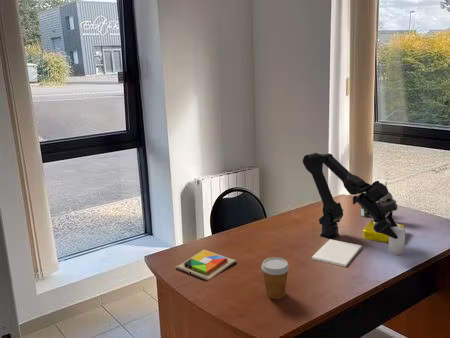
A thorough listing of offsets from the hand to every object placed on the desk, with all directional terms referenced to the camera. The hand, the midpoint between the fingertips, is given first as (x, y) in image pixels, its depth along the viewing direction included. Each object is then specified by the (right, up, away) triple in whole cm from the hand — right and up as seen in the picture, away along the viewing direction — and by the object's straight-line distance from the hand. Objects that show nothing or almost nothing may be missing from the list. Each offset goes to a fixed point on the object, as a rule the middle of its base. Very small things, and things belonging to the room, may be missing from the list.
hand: (397, 233), depth 181 cm
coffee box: (+2, +3, +43) cm, 43 cm away
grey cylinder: (0, -8, +2) cm, 8 cm away
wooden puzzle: (-78, -13, -2) cm, 79 cm away
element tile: (+1, -4, +19) cm, 20 cm away
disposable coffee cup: (-53, -18, -26) cm, 61 cm away
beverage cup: (+6, +1, +34) cm, 34 cm away
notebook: (-24, -9, +3) cm, 26 cm away
